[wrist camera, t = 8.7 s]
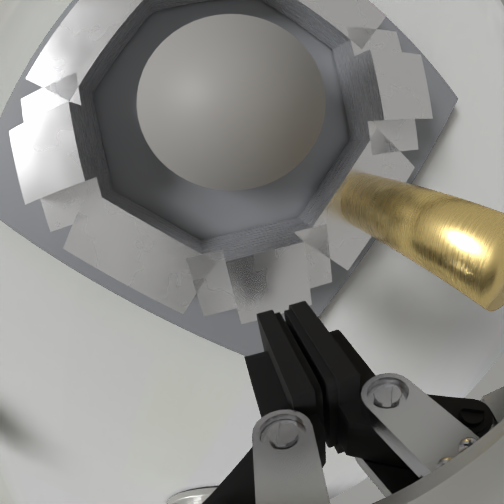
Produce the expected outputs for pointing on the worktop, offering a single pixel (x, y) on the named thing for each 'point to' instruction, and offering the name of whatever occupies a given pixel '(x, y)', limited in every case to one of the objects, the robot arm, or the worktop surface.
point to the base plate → (192, 196)
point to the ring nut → (266, 236)
